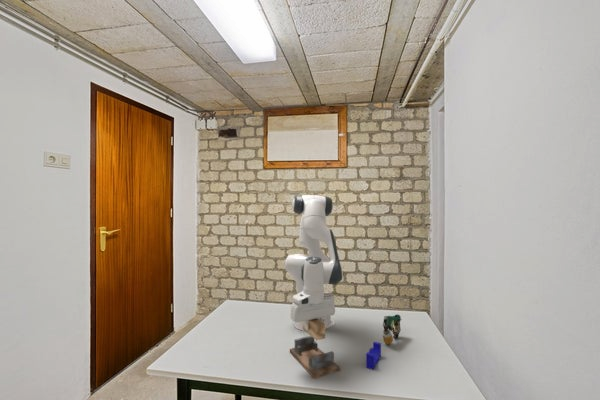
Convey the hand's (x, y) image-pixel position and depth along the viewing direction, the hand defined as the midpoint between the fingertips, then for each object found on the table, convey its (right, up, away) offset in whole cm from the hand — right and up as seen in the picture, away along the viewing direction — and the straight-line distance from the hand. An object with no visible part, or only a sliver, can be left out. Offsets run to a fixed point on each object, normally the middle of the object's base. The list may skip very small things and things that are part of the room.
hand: (313, 328), depth 128 cm
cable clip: (+25, -15, 0) cm, 29 cm away
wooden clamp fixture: (0, -14, 0) cm, 14 cm away
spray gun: (+39, -14, +18) cm, 45 cm away
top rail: (0, -2, 0) cm, 2 cm away
